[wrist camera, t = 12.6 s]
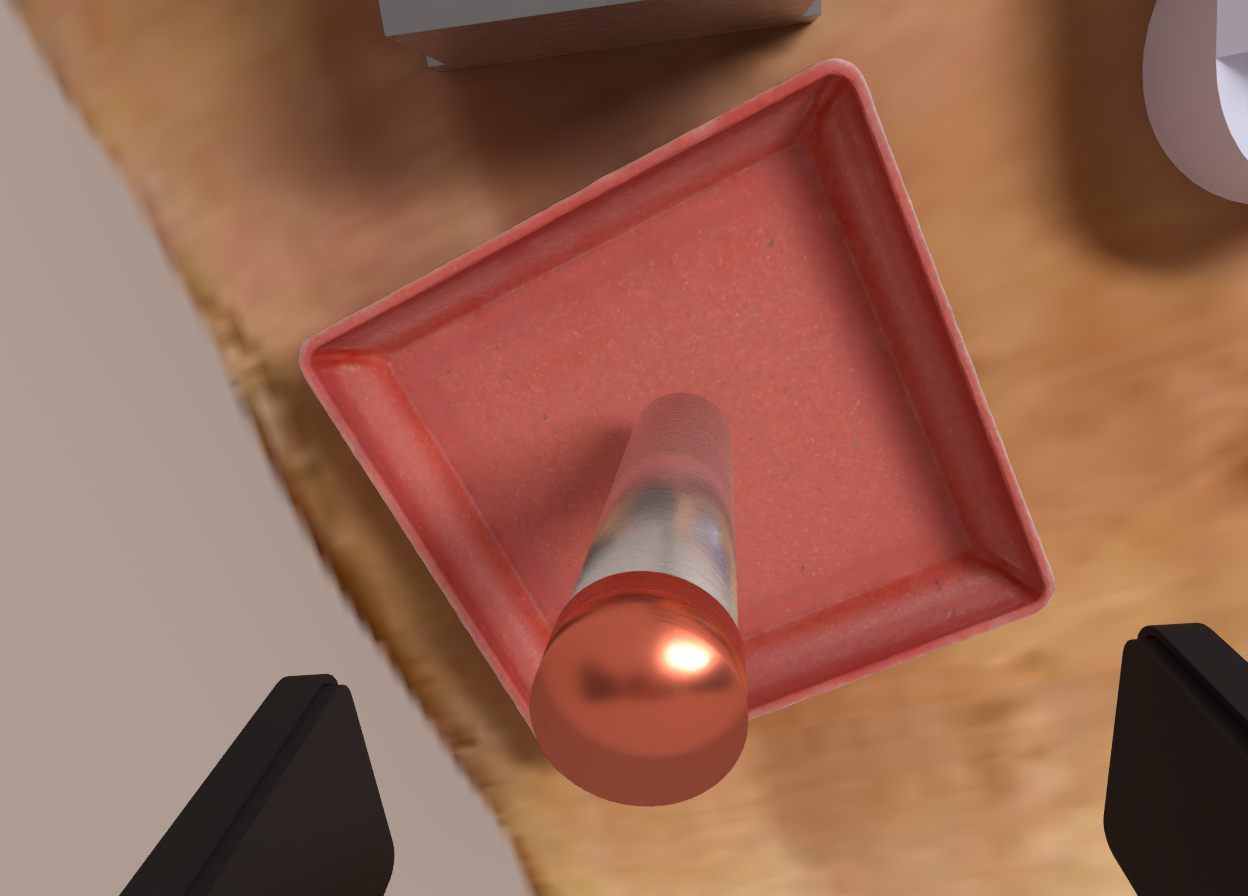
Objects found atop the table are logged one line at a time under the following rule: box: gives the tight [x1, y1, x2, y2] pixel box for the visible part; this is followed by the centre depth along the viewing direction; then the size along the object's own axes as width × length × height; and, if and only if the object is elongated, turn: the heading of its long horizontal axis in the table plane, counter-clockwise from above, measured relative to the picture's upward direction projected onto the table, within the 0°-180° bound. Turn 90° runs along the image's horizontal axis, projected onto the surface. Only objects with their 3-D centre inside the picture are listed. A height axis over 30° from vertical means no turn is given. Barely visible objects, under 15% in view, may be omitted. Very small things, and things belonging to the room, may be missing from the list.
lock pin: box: [529, 392, 748, 806], centre depth 18 cm, size 3×3×13 cm
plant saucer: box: [299, 58, 1056, 776], centre depth 26 cm, size 18×18×3 cm
